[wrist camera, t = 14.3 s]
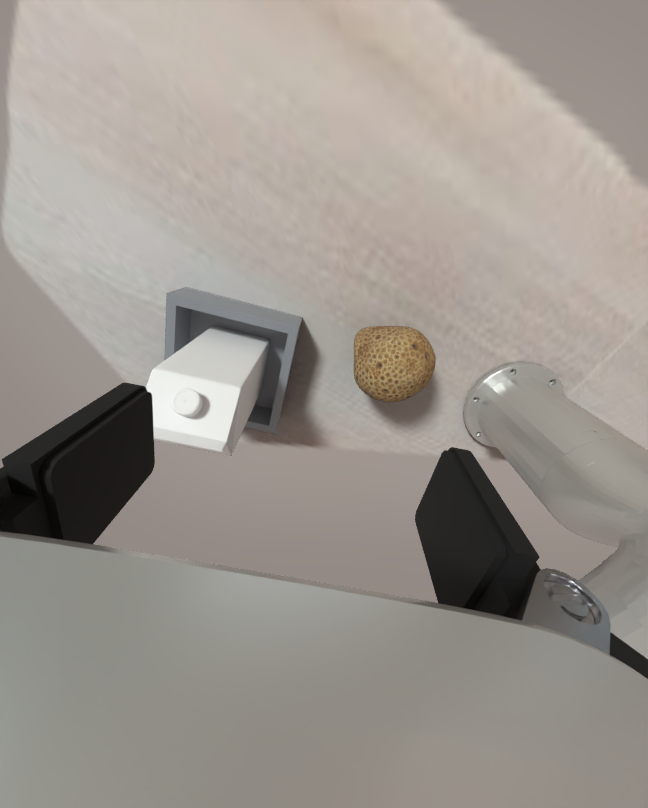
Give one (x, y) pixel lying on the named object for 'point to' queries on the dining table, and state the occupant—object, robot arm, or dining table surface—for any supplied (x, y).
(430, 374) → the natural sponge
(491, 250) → the dining table surface
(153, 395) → the milk carton
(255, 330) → the box
